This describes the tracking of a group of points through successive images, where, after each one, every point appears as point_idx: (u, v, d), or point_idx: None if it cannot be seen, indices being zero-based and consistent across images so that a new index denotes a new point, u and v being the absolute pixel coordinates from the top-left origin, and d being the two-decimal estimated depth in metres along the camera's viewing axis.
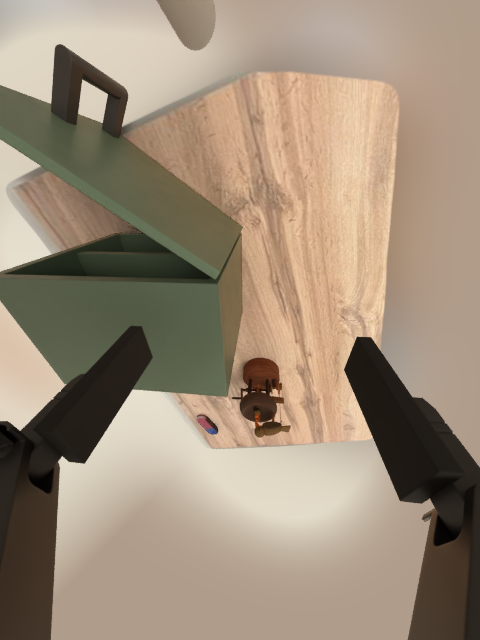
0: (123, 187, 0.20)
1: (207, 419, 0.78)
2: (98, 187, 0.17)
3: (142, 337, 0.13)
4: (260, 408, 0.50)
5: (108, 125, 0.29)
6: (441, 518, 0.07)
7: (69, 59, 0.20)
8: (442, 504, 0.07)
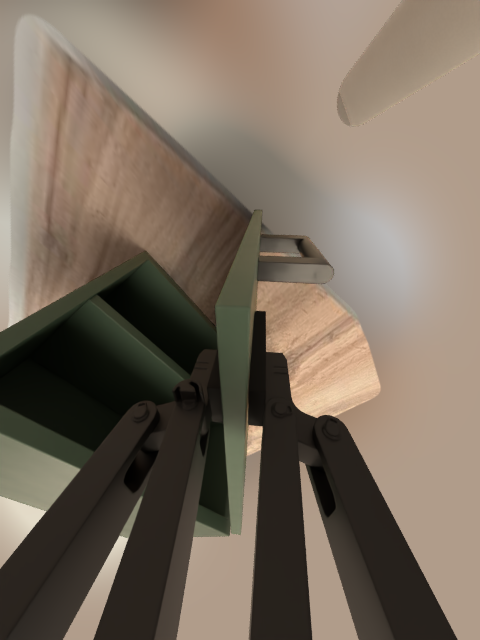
0: None
1: None
2: (243, 484, 0.14)
3: None
4: None
5: (267, 245, 0.23)
6: None
7: (323, 281, 0.16)
8: (262, 419, 0.09)
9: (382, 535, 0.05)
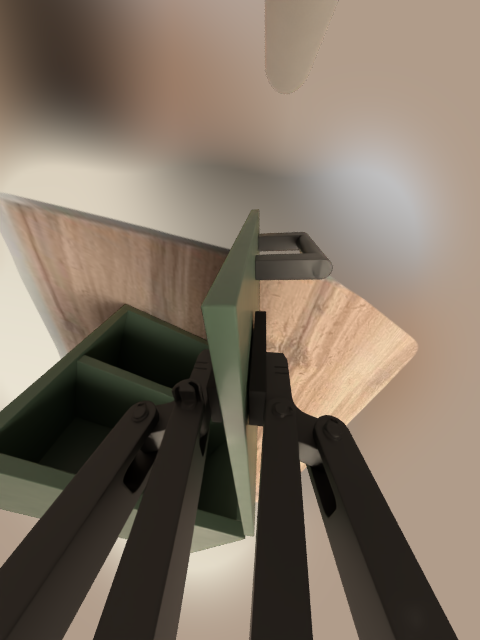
0: None
1: None
2: (251, 484, 0.14)
3: None
4: None
5: (266, 243, 0.23)
6: None
7: (322, 276, 0.15)
8: (263, 419, 0.09)
9: (383, 535, 0.05)
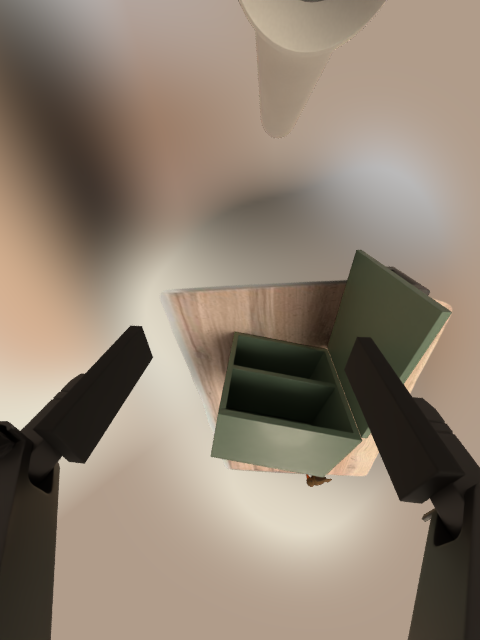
0: None
1: None
2: None
3: (142, 337, 0.13)
4: None
5: None
6: (442, 518, 0.07)
7: None
8: (442, 504, 0.07)
9: None
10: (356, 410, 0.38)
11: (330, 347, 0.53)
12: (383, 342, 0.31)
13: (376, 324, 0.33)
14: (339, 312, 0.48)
